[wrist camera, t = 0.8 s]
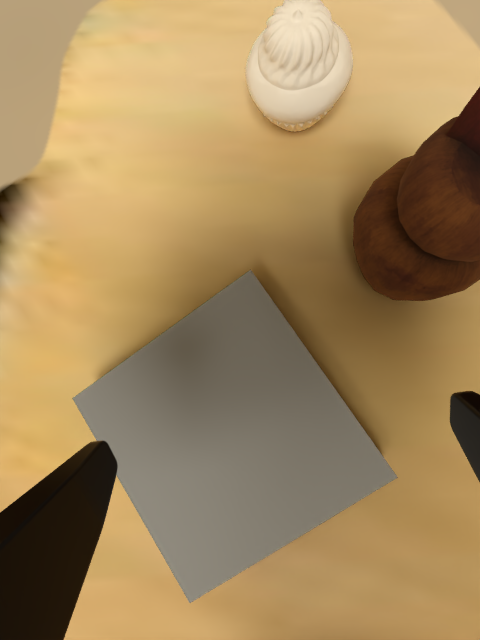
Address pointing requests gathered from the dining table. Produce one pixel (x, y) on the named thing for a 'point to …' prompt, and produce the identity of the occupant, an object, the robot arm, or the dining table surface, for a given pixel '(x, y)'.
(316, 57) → the muffin
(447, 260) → the wooden figurine
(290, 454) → the plinth
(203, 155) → the dining table surface
